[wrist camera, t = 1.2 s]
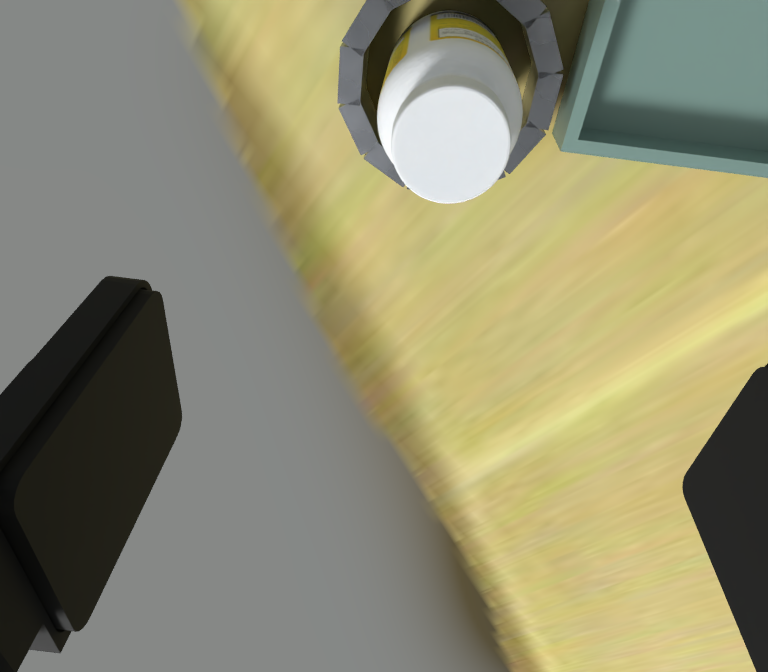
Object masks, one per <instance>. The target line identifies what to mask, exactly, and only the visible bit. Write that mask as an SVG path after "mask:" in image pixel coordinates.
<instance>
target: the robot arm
mask: <svg viewBox="0 0 768 672" xmlns="http://www.w3.org/2000/svg"><path fill="white" fill-rule="evenodd" d="M181 421H182V411H181V404H180V398H179V393H178V387H177V381H176V375H175V369H174V363H173V357H172V351H171V345H170V339H169V334H168V328H167V322H166V317H165V310H164V304H163V299H162V295H161V294H160V292H158V291H152V289H151V286H150V284H149V283H148V282H147V281H145V280H139V279H130V278H122V277H114V276H108V277H105V278H104V279H103V280H102V281H101V282H100V283H99V284H98V285H97V286H96V288H95V289H94V290H93V291H92V292H91V293H90V294H89V295H88V297H87V298H86V299H85V300H84V301H83V302H82V304H81V305H80V306H79V307H78V308H77V309H76V310H75V311H74V313H73V314H72V315H71V316H70V317H69V318H68V319H67V321H66V322H65V323H64V324H63V325H62V326H61V327H60V329H59V330H58V331H57V332H56V333H55V334H54V336H53V337H52V338H51V339H50V340H49V341H48V342H47V344H46V345H45V346H44V347H43V348H42V349H41V350H40V352H39V353H38V354H37V355H36V356H35V357H34V358H33V359H32V360H31V361H30V362H29V363H28V364H27V365H26V366H25V368H23V369H22V371H21V372H20V373H19V374H18V375H17V377H15V379H14V380H13V381H12V382H11V383H10V384H9V385H8V387H7V388H6V389H5V390H4V391H3V392H2V394H1V395H0V672H17V671H18V669H19V667H20V665H21V663H22V661H23V660H24V658H25V656H26V654H27V652H28V650H37V651H45V652H54V653H60V652H61V651H62V649H63V647H64V645H65V643H66V641H67V639H68V637H69V635H70V633H71V631H75V632H76V631H80V630H81V629H82V628H83V627H84V626H85V625H86V623H87V622H88V620H89V618H90V616H91V614H92V612H93V610H94V608H95V606H96V604H97V602H98V600H99V598H100V595H101V593H102V591H103V589H104V587H105V585H106V583H107V581H108V579H109V577H110V574H111V573H112V571H113V568H114V566H115V564H116V562H117V560H118V558H119V556H120V554H121V552H122V549H123V548H124V546H125V543H126V541H127V539H128V537H129V535H130V533H131V531H132V529H133V527H134V525H135V523H136V521H137V518H138V516H139V514H140V512H141V510H142V508H143V506H144V504H145V502H146V500H147V498H148V496H149V494H150V492H151V489H152V487H153V485H154V483H155V481H156V479H157V477H158V475H159V473H160V471H161V469H162V466H163V464H164V462H165V460H166V458H167V456H168V454H169V452H170V450H171V448H172V445H173V444H174V442H175V440H176V437H177V435H178V433H179V430H180V426H181ZM683 494H684V497H685V500H686V502H687V505H688V507H689V510H690V512H691V514H692V517H693V519H694V522H695V524H696V526H697V529H698V531H699V534H700V536H701V539H702V541H703V543H704V546H705V548H706V551H707V553H708V555H709V558H710V560H711V563H712V565H713V568H714V570H715V572H716V575H717V577H718V580H719V582H720V584H721V587H722V589H723V592H724V594H725V597H726V599H727V601H728V604H729V606H730V609H731V611H732V613H733V616H734V618H735V621H736V623H737V626H738V628H739V630H740V633H741V635H742V638H743V640H744V643H745V645H746V647H747V650H748V652H749V655H750V657H751V659H752V662H753V664H754V667H755V669H756V672H768V364H767V365H766V366H765V367H760V368H758V369H757V370H756V371H755V372H754V373H753V374H752V376H751V377H750V379H749V380H748V382H747V383H746V385H745V386H744V388H743V389H742V391H741V392H740V394H739V395H738V397H737V398H736V400H735V401H734V403H733V404H732V405H731V407H730V408H729V410H728V411H727V413H726V414H725V416H724V417H723V419H722V420H721V422H720V423H719V425H718V426H717V428H716V429H715V431H714V432H713V434H712V435H711V437H710V438H709V440H708V441H707V443H706V444H705V446H704V447H703V449H702V450H701V452H700V453H699V455H698V456H697V458H696V459H695V461H694V462H693V464H692V465H691V467H690V468H689V470H688V471H687V473H686V474H685V476H684V480H683Z"/></svg>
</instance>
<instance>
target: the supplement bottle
mask: <svg viewBox="0 0 768 672" xmlns="http://www.w3.org/2000/svg"><path fill="white" fill-rule="evenodd" d="M522 116H523V109H522V99H521V94H520V90H519V87H518V84H517V81H516V78H515V76H514V74H513V71H512V69H511V67H510V65H509V62H508V60H507V58H506V55H505V53H504V51H503V49H502V47H501V45H500V43H499V41H498V39H497V38H496V36H495V34H494V33H493V32H492V30H491V29H490V28H489V27H488V26H487V25H486V24H484V23H483V22H482V21H481V20H479V19H477V18H476V17H474V16H472V15H470V14H467V13H464V12H459V11H450V10H449V11H439V12H435V13H432V14H429V15H427V16H424V17H422V18H421V19H419V20H417V21H416V22H415V23H413V24H412V25H411V26H410V27H409V28H408V29H407V30H406V31H405V32H404V33H403V34H402V36H401V37H400V39H399V40H398V42H397V44H396V45H395V47H394V49H393V52H392V54H391V57H390V60H389V64H388V68H387V71H386V75H385V78H384V82H383V86H382V89H381V93H380V97H379V102H378V111H377V124H378V132H379V136H380V140H381V143H382V146H383V148H384V150H385V152H386V154H387V156H388V157H389V159H390V160H391V162H392V163H393V164H394V166H395V169H396V171H397V173H398V175H399V177H400V178H401V180H402V181H403V182H404V183H405V185H406V186H407V187H408V188H409V189H411V190H412V191H413V192H414V193H416V194H417V195H419V196H420V197H422V198H425V199H427V200H430V201H433V202H437V203H459V202H464V201H467V200H470V199H473V198H475V197H477V196H479V195H481V194H482V193H484V192H485V191H487V190H488V189H489V188H490V187H491V186H492V185H493V184H494V183H495V182H496V181H497V180H498V178H499V177H500V176H501V174H502V173H503V171H504V169H505V167H506V165H507V162H508V159H509V156H510V154H511V152H512V150H513V148H514V146H515V144H516V142H517V139H518V136H519V133H520V130H521V125H522Z"/></svg>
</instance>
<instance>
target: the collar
mask: <svg viewBox="0 0 768 672" xmlns="http://www.w3.org/2000/svg"><path fill="white" fill-rule="evenodd" d="M408 1H410V0H366V2H365V4H364V5H363V7H362V9H361V10H360V12H359V14H358V15H357V17H356V19H355V20H354V22H353V23H352V25H351V27H350V28H349V30H348V32H347V33H346V35H345V37H344V38H343V40H342V41H343V43H342V44H341V46H340V63H339V84H338V103H340V106H339V110H340V112H341V114H342V116H343V118H344V121H345V123H346V125H347V127H348V129H349V131H350V133H351V135H352V138H353V140H354V142H355V144H356V146H357V148H358V150H359V152H360V154H361V155H362V154H365V156H364V159H365V160H366V161H368V162H369V163H370V164H372V165H373V166H374V167H376V168H377V169H379V170H380V171H381V172H383V173H384V174H385V175H387V176H388V177H390V178H391V179H392V180H394V181H395V182H396V183H398V184H399V185H401V186H402V187H404V185H405V183H404V182H403V181H402V180H401V178H400V177H399V175H398V173H397V171H396V169H395V166H394V164H393V163H392V162H391V160H390V159H389V157H388V156H387V154H386V152H385V150H384V148H383V146H382V143H381V140H380V136H379V132H378V124H377V111H376V109H375V107H374V104H373V102H372V100H371V97H370V95H369V93H368V90H367V88H366V84H367V70H368V57H369V44H370V43H371V41H372V40H373V38H374V36H375V35H376V33H377V32H378V30H379V29H380V27H381V26H382V24H383V22H384V21H385V19H386V18H387V16H388V15H389V13H390V11H391V10H392V9H394V8H396V7H398V6H400V5H402V4H404V3H406V2H408ZM497 1H498V2H499V3H500V4H501V5H502V6H503V7H504V8H505V9H506V10H508V11H509V12H510V13H511V14H512V15H513V16H514V17H515V18H516V19H517V20H518V21H520V23H521V26H522V30H523V34H524V37H525V41H526V45H527V48H528V52H529V56H530V59H531V66H530V70H529V74H528V78H527V82H526V86H525V91H524V95H523V99H522V109H523V116H522V125H521V130H520V133H519V136H518V139H517V142H516V144H515V146H514V148H513V150H512V152H511V154H510V156H509V159H508V162H507V165H506V167H505V169H504V170H505V171H506V172H507V173H509V174H510V173H511V172H512V171H513V170H514V169H515V168H516V167H517V166H518V164H519V163H520V162H521V161H522V160H523V159H524V158H525V157H526V156H527V155H528V153H529V152H530V151H531V150H532V149H533V148H534V147H535V146H536V145H537V144H538V143H539V141H540V140H541V139H542V138H543V137H544V136H545V135H546V134H545V132H544V130H548V129H549V126H550V122H551V118H552V115H553V111H554V107H555V104H556V100H557V96H558V93H559V89H560V86H561V82H562V78H563V73H562V72H561V70H563V65H562V61H561V57H560V53H559V48H558V44H557V40H556V36H555V32H554V28H553V24H552V20H551V16H550V12H549V10H548V9H547V8H546V7H547V6H546V5H545V4H544V3H543V2H542V1H541V0H497ZM504 177H506V176H505V172H504V171H503V173H502V174H501V176H500V177H499V178H498V180H499V179H501V178H504ZM407 189H409V188H408V187H407Z"/></svg>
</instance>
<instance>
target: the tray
mask: <svg viewBox="0 0 768 672" xmlns="http://www.w3.org/2000/svg"><path fill="white" fill-rule="evenodd" d="M552 134H553V136H554V138H555V140H556V143H557V145H558V147H559V149H560V151H562V152H570V153H578V154H586V155H593V156H601V157H609V158H617V159H625V160H632V161H640V162H648V163H656V164H664V165H671V166H679V167H687V168H695V169H703V170H710V171H718V172H726V173H734V174H742V175H749V176H757V177H765V178H768V0H589V3H588V7H587V11H586V14H585V18H584V21H583V25H582V28H581V32H580V36H579V39H578V43H577V46H576V50H575V53H574V57H573V61H572V64H571V68H570V71H569V75H568V78H567V82H566V86H565V89H564V93H563V96H562V100H561V104H560V107H559V111H558V114H557V118H556V121H555V125H554V129H553V132H552Z"/></svg>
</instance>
